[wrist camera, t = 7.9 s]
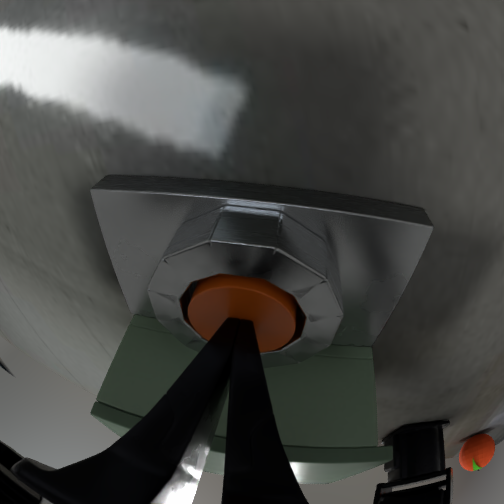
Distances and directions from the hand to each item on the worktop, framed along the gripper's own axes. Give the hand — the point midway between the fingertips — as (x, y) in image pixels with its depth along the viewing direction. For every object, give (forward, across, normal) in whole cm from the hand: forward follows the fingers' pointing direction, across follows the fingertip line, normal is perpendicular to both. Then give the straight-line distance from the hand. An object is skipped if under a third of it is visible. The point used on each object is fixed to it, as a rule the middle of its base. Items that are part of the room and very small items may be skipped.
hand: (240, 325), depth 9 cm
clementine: (+3, -39, +33) cm, 51 cm away
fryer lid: (-3, 0, +11) cm, 11 cm away
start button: (+2, 0, 0) cm, 2 cm away
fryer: (+3, 0, +11) cm, 11 cm away
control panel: (+3, 0, 0) cm, 3 cm away
